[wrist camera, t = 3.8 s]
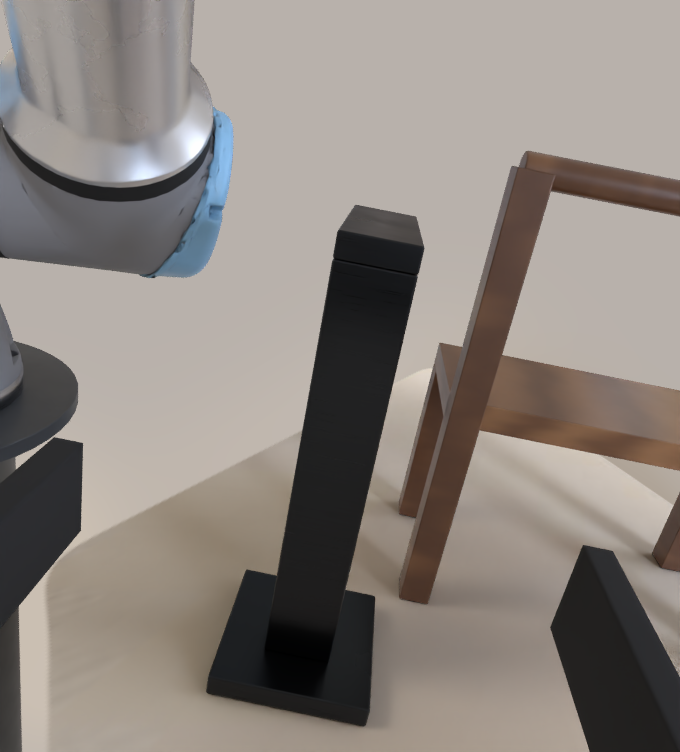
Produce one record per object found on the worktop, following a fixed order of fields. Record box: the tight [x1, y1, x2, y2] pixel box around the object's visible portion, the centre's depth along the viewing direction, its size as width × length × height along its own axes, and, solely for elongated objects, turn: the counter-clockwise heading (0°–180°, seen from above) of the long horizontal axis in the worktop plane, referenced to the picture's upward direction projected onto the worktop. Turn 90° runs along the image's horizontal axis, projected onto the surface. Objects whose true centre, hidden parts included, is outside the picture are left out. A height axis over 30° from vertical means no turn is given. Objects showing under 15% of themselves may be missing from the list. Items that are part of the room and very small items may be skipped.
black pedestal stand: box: [206, 205, 424, 726], centre depth 27 cm, size 11×7×20 cm, turn 175°
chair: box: [399, 151, 680, 604], centre depth 34 cm, size 20×10×24 cm, turn 85°
